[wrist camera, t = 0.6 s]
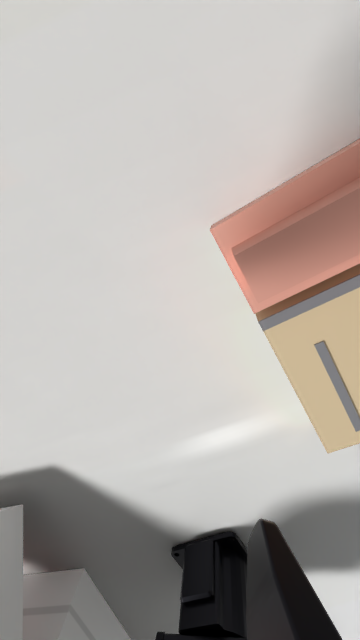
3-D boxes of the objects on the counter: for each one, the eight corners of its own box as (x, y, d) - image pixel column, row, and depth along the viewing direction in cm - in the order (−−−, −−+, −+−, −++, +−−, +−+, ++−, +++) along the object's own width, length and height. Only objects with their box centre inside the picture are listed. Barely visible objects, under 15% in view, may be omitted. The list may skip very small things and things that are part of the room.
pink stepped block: (399, 223, 17) (479, 232, 12) (248, 297, 19) (260, 331, 14) (368, 133, 15) (442, 99, 10) (211, 225, 18) (208, 234, 13)
